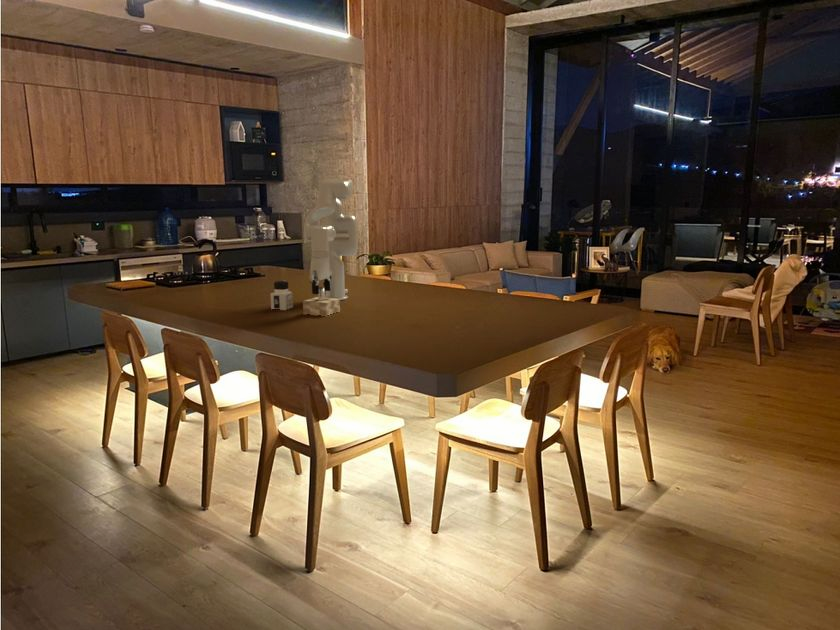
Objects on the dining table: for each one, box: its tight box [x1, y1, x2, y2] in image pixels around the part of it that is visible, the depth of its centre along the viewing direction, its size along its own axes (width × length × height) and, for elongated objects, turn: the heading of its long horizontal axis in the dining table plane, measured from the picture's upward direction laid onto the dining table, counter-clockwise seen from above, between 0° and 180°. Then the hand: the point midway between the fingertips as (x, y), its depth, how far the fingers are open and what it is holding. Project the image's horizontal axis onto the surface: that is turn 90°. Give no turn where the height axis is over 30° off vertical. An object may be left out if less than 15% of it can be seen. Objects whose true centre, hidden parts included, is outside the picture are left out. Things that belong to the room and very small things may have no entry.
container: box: [270, 280, 294, 311], centre depth 297 cm, size 8×8×13 cm
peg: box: [317, 285, 326, 301], centre depth 287 cm, size 3×3×12 cm
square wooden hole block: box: [302, 296, 341, 317], centre depth 287 cm, size 12×12×6 cm
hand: (321, 292), depth 287 cm, fingers open, 9 cm apart
